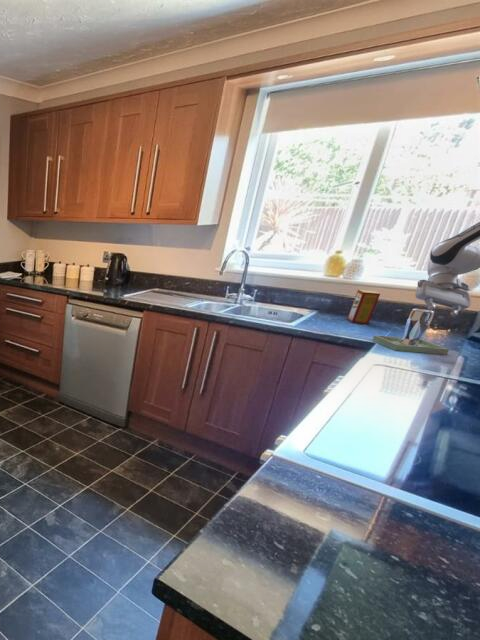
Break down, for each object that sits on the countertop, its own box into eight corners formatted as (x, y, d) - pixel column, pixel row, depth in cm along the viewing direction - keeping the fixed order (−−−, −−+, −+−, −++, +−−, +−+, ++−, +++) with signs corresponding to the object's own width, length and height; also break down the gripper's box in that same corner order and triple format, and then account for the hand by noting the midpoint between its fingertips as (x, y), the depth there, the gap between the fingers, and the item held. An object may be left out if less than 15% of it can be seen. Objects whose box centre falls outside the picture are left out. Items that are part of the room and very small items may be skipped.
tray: (419, 344, 184) (422, 339, 184) (446, 354, 170) (449, 349, 170) (372, 340, 188) (374, 335, 188) (394, 350, 174) (397, 344, 174)
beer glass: (424, 347, 176) (440, 312, 170) (407, 347, 176) (423, 311, 170) (408, 343, 183) (423, 308, 177) (392, 342, 183) (407, 308, 177)
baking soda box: (346, 318, 228) (358, 289, 222) (362, 320, 225) (374, 290, 219) (352, 322, 220) (363, 291, 214) (368, 324, 218) (380, 293, 212)
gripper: (425, 274, 183) (425, 301, 179) (474, 287, 182) (475, 315, 178) (410, 282, 189) (410, 308, 185) (457, 294, 188) (458, 321, 184)
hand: (442, 312), depth 181 cm, fingers open, 8 cm apart
